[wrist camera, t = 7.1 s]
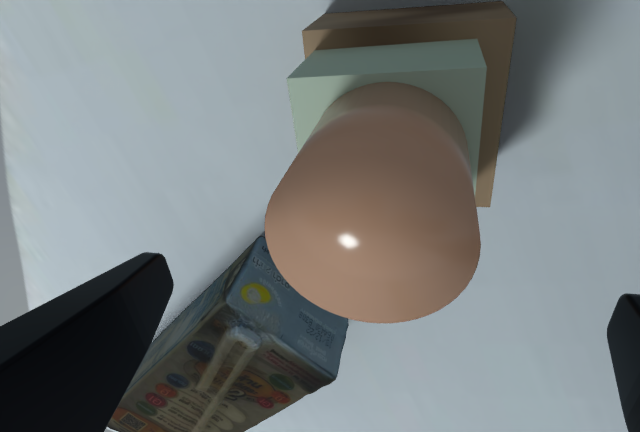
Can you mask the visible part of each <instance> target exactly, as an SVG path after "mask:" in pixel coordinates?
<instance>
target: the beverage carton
mask: <svg viewBox="0 0 640 432" xmlns="http://www.w3.org/2000/svg"><path fill="white" fill-rule="evenodd" d="M347 328H348V318H345V317H342V316H339V315H336V314H333V313H331V312H329V311H327V310H324V309H322V308H320V307H319V306H317V305H315V304H313V303H312V302H310V301H309V300H307V299H306V298H305V297H303V296H302V295H301V294H299V293H298V292H297V291H296V290H295V289H294V288H293V287H292V286H291V285H290V284H289V283H288V282H287V281H286V280H285V279H284V277H283V276H282V275H281V273H280V272H279V270H278V269H277V267H276V265H275V263H274V262H273V260H272V258H271V255H270V252H269V250H268V246H267V242H266V239H265V238H264V237H261V236H260V237H258V238H257V239H256V240H255V242H254V243H253V244H251V245H250V246H249V247H248V248H247V249H246V250H245V251H244V252H243V254H242V255H241V256H240V257H239V258H238V259H237V260H236V261H235V262H234V263H233V264H232V265H231V266H230V267H229V268H228V269H227V270H226V271H225V272H224V273H223V274H222V275H221V276H220V277H218V278H217V279H216V280H215V282H214V283H213V284H212V285H211V286H210V287H209V288H208V289H207V290H206V291H205V292H203V293H202V294H201V295H200V296H199V297H198V298H197V299H196V300H195V301H194V302H193V303H192V304H191V305H190V306H189V307H188V308H187V309H186V310H185V311H184V312H183V313H182V314H181V315H180V316H179V317H178V318H177V319H176V320H175V321H174V322H172V323H171V324H170V325H169V326H168V327H167V328H166V329H165V330H164V332H163V333H162V334H161V335H160V336H159V337H158V338H157V339H156V340H155V341H154V342H153V343H152V344H151V345H150V346H149V349H148V351H147V353H146V355H145V357H144V359H143V361H142V363H141V364H140V366H139V368H138V370H137V372H136V374H135V375H134V377H133V379H132V381H131V383H130V385H129V387H128V388H127V390H126V392H125V394H124V396H123V398H122V399H121V401H120V403H119V405H118V407H117V409H116V410H115V412H114V414H113V416H112V418H111V420H110V422H109V423H108V425H107V427H109V428H110V429H113V430H116V431H118V432H244V431H246V430H248V429H250V428H251V427H253V426H255V425H257V424H259V423H260V422H262V421H264V420H265V419H267V418H269V417H271V416H273V415H274V414H276V413H278V412H280V411H281V410H283V409H285V408H286V407H288V406H290V405H291V404H293V403H295V402H297V401H298V400H300V399H301V398H303V397H304V396H305V395H307V394H311V393H313V392H315V391H317V390H318V389H320V388H321V387H323V386H326V385H329V384H330V383H332V382H333V381H334V380H335V379H336V377H337V374H338V369H339V364H340V358H341V352H342V349H343V346H344V342H345V338H346V331H347Z"/></svg>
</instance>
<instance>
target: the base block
mask: <svg viewBox="0 0 640 432" xmlns="http://www.w3.org/2000/svg"><path fill="white" fill-rule="evenodd" d="M515 26H516V16H515V15H514V14H513V13H512V12H511V11H510V9H509V8H508V7H507V6H506V5H505V3H504V2H503V1H497V2H483V3H469V4H454V5H440V6H426V7H412V8H398V9H383V10H369V11H355V12H341V13H327V14H323V15H322V16H321V17H320V18H318V19H317V20H316V21H314V22H313V23H312V24H310V25H309V26H308V27H307V28H305V29H304V30H303V31H302V35H303V44H304V53H305V59H306V58H307V57H308V56H309V55H310V54H311V53H312V52H313V51H314V50H326V49H340V48H354V47H367V46H381V45H395V44H409V43H423V42H437V41H450V40H464V39H477V40H478V43H479V46H480V49H481V51H482V54H483V57H484V60H485V63H486V66H487V71H486V82H485V93H484V104H483V115H482V126H481V137H480V148H479V159H478V170H477V181H476V192H475V202H476V207H490V204H491V196H492V189H493V182H494V175H495V168H496V161H497V154H498V147H499V139H500V132H501V125H502V118H503V111H504V104H505V97H506V90H507V83H508V75H509V68H510V61H511V54H512V47H513V40H514V33H515Z"/></svg>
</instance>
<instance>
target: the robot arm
mask: <svg viewBox="0 0 640 432" xmlns="http://www.w3.org/2000/svg"><path fill="white" fill-rule="evenodd" d="M173 285H174V284H173V279H172V276H171V273H170V270H169V268H168V265H167V262H166V259H165V257H164V256H163V255H162V254H160V253H149V252H145V253H142V254H140V255H138V256H136V257H134V258H132V259H130V260H128V261H126V262H124V263H122V264H120V265H118V266H116V267H115V268H113V269H111V270H109V271H107V272H105V273H103V274H101V275H99V276H97V277H95V278H93V279H91V280H89V281H87V282H85V283H84V284H82V285H80V286H78V287H76V288H74V289H72V290H70V291H68V292H66V293H64V294H62V295H60V296H58V297H56V298H54V299H53V300H51V301H49V302H47V303H45V304H43V305H41V306H39V307H37V308H35V309H33V310H31V311H29V312H27V313H25V314H24V315H22V316H20V317H18V318H16V319H14V320H12V321H10V322H8V323H6V324H4V325H2V326H0V432H104V431H105V429H106V427H107V425H108V423H109V422H110V420H111V418H112V416H113V414H114V412H115V410H116V409H117V407H118V405H119V403H120V401H121V399H122V398H123V396H124V394H125V392H126V390H127V388H128V387H129V385H130V383H131V381H132V379H133V377H134V375H135V374H136V372H137V370H138V368H139V366H140V364H141V363H142V361H143V359H144V357H145V355H146V353H147V351H148V349H149V346H150V344H151V342H152V340H153V337H154V335H155V332H156V330H157V328H158V325H159V323H160V321H161V318H162V316H163V313H164V311H165V309H166V306H167V304H168V301H169V299H170V297H171V294H172V291H173ZM607 339H608V344H609V349H610V354H611V358H612V363H613V368H614V373H615V377H616V382H617V387H618V392H619V396H620V401H621V406H622V410H623V414H624V418H625V422H626V425H627V429H628V432H640V294H623V295H622V296H621V297H620V298H619V300H618V302H617V305H616V307H615V309H614V312H613V314H612V317H611V319H610V322H609V324H608V328H607Z"/></svg>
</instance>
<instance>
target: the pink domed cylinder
mask: <svg viewBox="0 0 640 432" xmlns="http://www.w3.org/2000/svg"><path fill="white" fill-rule="evenodd" d="M265 238H266V242H267V246H268V250H269V252H270V255H271V258H272V260H273V262H274V263H275V265H276V267H277V269H278V270H279V272H280V273H281V275H282V276H283V277H284V279H285V280H286V281H287V282H288V283H289V284H290V285H291V286H292V287H293V288H294V289H295V290H296V291H297V292H298V293H299V294H301V295H302V296H303V297H305V298H306V299H307V300H309V301H310V302H312V303H313V304H315V305H317V306H319V307H320V308H322V309H324V310H327V311H329V312H331V313H333V314H336V315H339V316H342V317H345V318H349V319H352V320H357V321H362V322H370V323H397V322H405V321H410V320H414V319H418V318H421V317H424V316H427V315H429V314H432V313H434V312H436V311H438V310H440V309H441V308H443V307H445V306H446V305H448V304H449V303H450V302H452V301H453V300H454V299H455V298H457V297H458V296H459V295H460V293H461V292H462V291H463V290H464V289H465V288H466V286H467V285H468V283H469V282H470V280H471V279H472V277H473V275H474V273H475V270H476V268H477V265H478V261H479V257H480V246H481V243H480V232H479V224H478V217H477V209H476V202H475V195H474V187H473V180H472V172H471V165H470V157H469V150H468V143H467V139H466V135H465V132H464V130H463V127H462V125H461V123H460V121H459V120H458V118H457V116H456V115H455V114H454V113H453V111H452V110H451V109H450V108H449V107H448V106H447V105H446V104H445V103H444V102H443V101H442V100H441V99H439V98H438V97H436V96H435V95H433V94H432V93H430V92H428V91H426V90H424V89H422V88H419V87H416V86H413V85H410V84H405V83H399V82H377V83H372V84H367V85H364V86H361V87H358V88H355V89H353V90H351V91H349V92H347V93H345V94H344V95H342V96H341V97H339V98H338V99H337V100H336V101H335V102H333V103H332V104H331V105H330V106H329V107H328V109H327V110H326V111H325V112H324V113H323V115H322V117H321V118H320V120H319V121H318V123H317V125H316V126H315V128H314V129H313V131H312V132H311V134H310V136H309V137H308V139H307V140H306V142H305V143H304V145H303V147H302V148H301V150H300V151H299V153H298V155H297V156H296V158H295V159H294V161H293V162H292V164H291V166H290V167H289V169H288V170H287V172H286V174H285V175H284V177H283V178H282V180H281V181H280V183H279V185H278V186H277V188H276V189H275V191H274V193H273V194H272V196H271V199H270V201H269V204H268V207H267V211H266V215H265Z"/></svg>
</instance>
